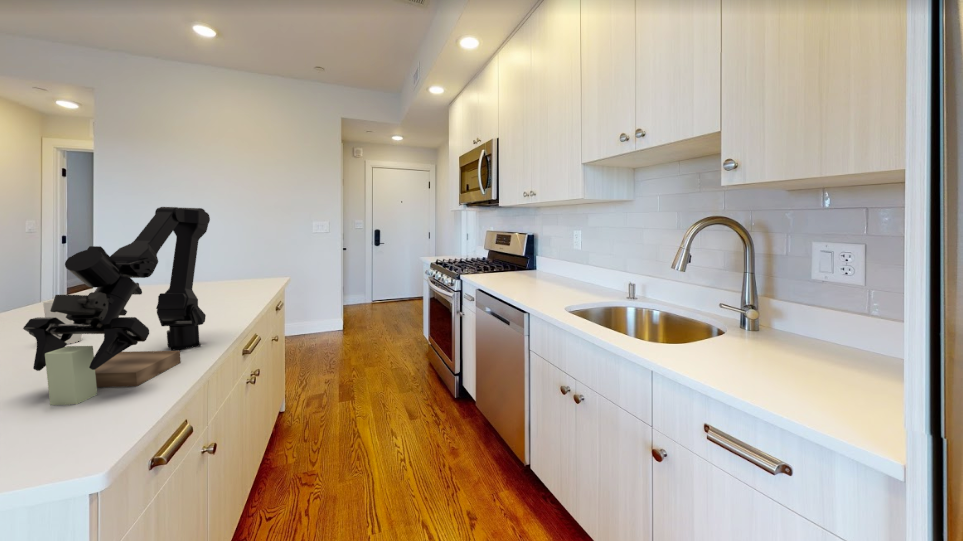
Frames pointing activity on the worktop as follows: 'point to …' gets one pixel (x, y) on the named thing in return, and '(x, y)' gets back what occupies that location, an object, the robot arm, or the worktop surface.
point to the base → (135, 367)
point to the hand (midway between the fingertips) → (64, 369)
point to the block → (70, 375)
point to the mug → (63, 318)
